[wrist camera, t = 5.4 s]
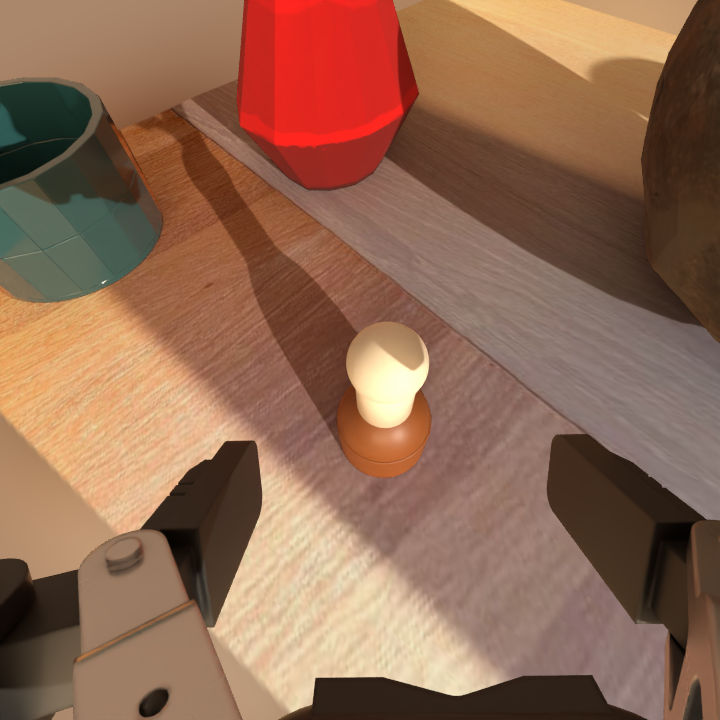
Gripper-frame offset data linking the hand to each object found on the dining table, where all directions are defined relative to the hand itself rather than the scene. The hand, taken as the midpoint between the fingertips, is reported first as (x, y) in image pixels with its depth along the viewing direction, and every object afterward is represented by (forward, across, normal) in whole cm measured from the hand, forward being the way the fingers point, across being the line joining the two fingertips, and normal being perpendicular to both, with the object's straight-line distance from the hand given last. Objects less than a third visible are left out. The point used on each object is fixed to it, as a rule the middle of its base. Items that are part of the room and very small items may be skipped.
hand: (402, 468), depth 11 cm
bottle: (+32, +4, -14) cm, 35 cm away
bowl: (+25, +26, -8) cm, 37 cm away
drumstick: (+12, 0, +5) cm, 13 cm away
